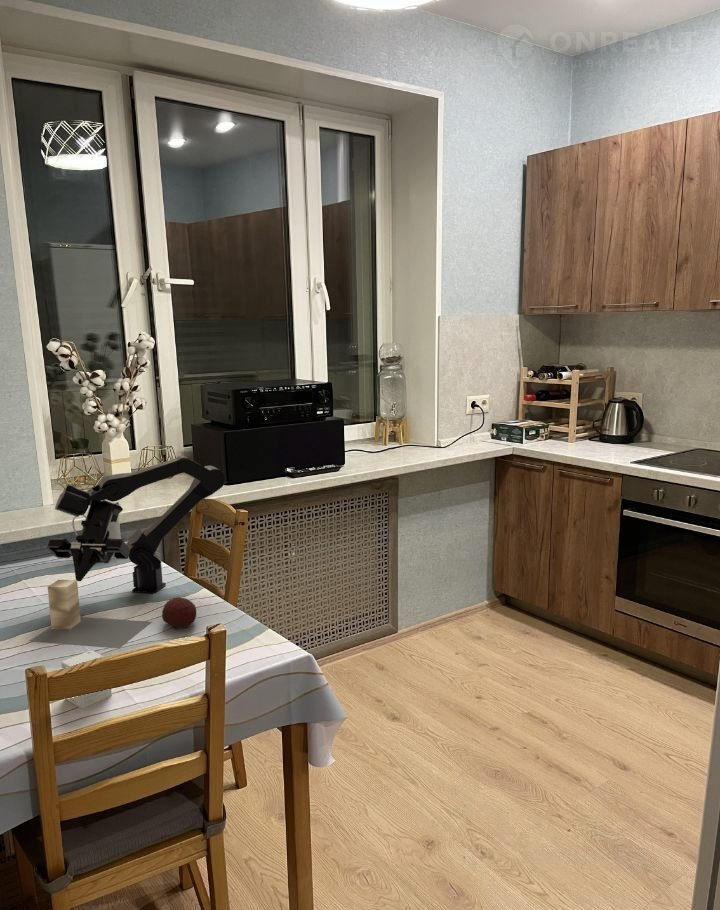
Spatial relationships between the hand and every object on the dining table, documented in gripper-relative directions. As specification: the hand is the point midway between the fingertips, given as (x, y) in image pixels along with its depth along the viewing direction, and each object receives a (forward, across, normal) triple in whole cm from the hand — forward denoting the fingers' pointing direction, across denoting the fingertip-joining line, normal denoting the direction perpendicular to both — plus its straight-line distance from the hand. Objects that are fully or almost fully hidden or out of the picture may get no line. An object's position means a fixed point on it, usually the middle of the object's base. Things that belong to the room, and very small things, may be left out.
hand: (78, 580), depth 162 cm
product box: (+32, -21, +20) cm, 43 cm away
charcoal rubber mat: (+13, -8, 0) cm, 15 cm away
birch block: (+11, 0, -1) cm, 11 cm away
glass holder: (-26, +19, -39) cm, 51 cm away
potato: (+9, -26, -4) cm, 28 cm away
